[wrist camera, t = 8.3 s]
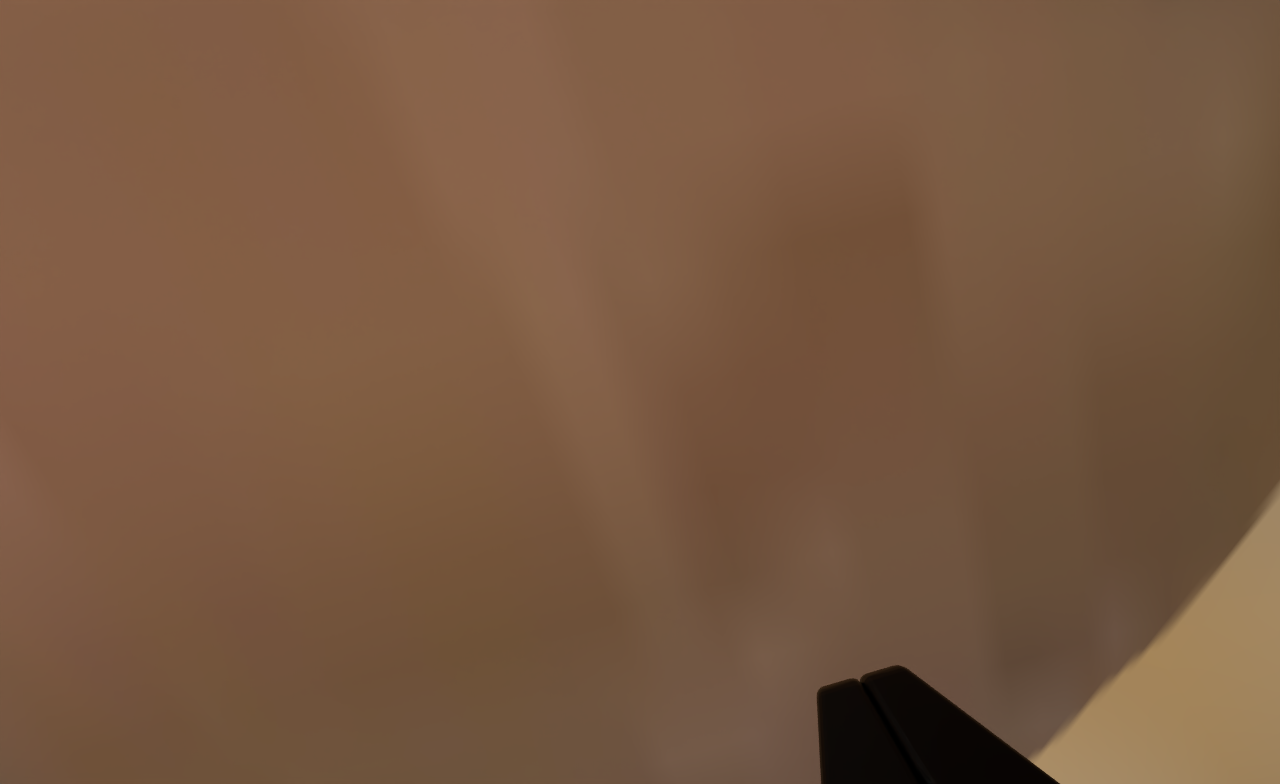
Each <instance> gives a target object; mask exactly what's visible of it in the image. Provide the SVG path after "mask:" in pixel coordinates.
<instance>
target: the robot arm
mask: <svg viewBox="0 0 1280 784" xmlns="http://www.w3.org/2000/svg"><path fill="white" fill-rule="evenodd" d="M817 712H818V731H819V751H820V771H821V784H1060V783H1058V782H1057V781H1056V780H1054V779H1053V778H1052V777H1050V776H1049V775H1048V774H1046V773H1045V772H1044V771H1042V770H1041V769H1040V768H1038V767H1037V766H1036V765H1034V764H1033V763H1032V762H1030V761H1029V760H1028V759H1026V758H1025V757H1024V756H1022V755H1021V754H1020V753H1018V752H1017V751H1016V750H1015V749H1013V748H1012V747H1011V746H1009V745H1008V744H1007V743H1005V742H1004V741H1003V740H1001V739H1000V738H999V737H997V736H996V735H995V734H993V733H992V732H991V731H989V730H988V729H987V728H985V727H984V726H983V725H981V724H980V723H979V722H977V721H976V720H975V719H973V718H972V717H971V716H969V715H968V714H967V713H965V712H964V711H963V710H961V709H960V708H959V707H957V706H956V705H955V704H953V703H952V702H951V701H949V700H948V699H947V698H945V697H944V696H943V695H942V694H940V693H939V692H938V691H936V690H935V689H934V688H932V687H931V686H930V685H928V684H927V683H926V682H924V681H923V680H922V679H920V678H919V677H918V676H916V675H915V674H914V673H912V672H911V671H910V670H908V669H907V668H905V667H903V666H899V665H895V666H890V667H887V668H884V669H880V670H877V671H874V672H870V673H867V674H865V675H863V676H862V677H861V679H860V682H859V681H858V680H857V679H854V678H852V679H847V680H844V681H840V682H837V683H834V684H830V685H827V686H823V687H821V688H820V689H819V690H818V692H817Z"/></svg>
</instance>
